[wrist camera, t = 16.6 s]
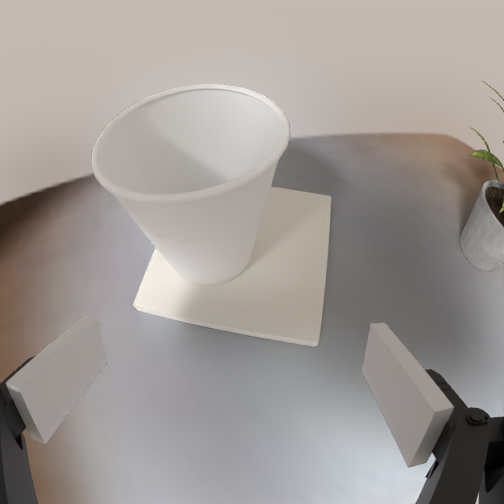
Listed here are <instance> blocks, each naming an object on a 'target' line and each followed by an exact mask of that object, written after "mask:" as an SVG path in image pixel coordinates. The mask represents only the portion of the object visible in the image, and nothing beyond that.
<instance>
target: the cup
mask: <svg viewBox="0 0 504 504" xmlns="http://www.w3.org/2000/svg"><path fill="white" fill-rule="evenodd" d="M289 139H290V125H289V121H288V119H287V117H286V115H285V113H284V112H283V110H282V109H281V108H280V107H279V106H278V105H277V104H276V103H275V102H274V101H272V100H271V99H269V98H268V97H266V96H264V95H262V94H260V93H258V92H256V91H253V90H250V89H246V88H243V87H238V86H233V85H226V84H196V85H188V86H182V87H177V88H173V89H169V90H165V91H162V92H159V93H156V94H154V95H151V96H149V97H146V98H144V99H142V100H140V101H138V102H136V103H134V104H133V105H131V106H130V107H128V108H126V109H125V110H123V111H122V112H121V113H120V114H118V115H117V116H116V117H115V118H114V119H112V120H111V121H110V122H109V124H108V125H107V126H106V127H105V128H104V129H103V130H102V132H101V133H100V135H99V136H98V138H97V140H96V142H95V145H94V147H93V150H92V158H91V165H92V169H93V173H94V176H95V177H96V179H97V180H98V182H99V183H100V184H101V186H102V187H104V188H105V189H107V190H108V191H109V192H111V193H112V194H114V195H115V196H116V198H117V199H118V200H119V202H120V203H121V204H122V206H123V207H124V208H125V210H126V211H127V212H128V213H129V215H130V216H131V217H132V218H133V220H134V221H135V222H136V223H137V225H138V226H139V227H140V228H141V230H142V231H143V232H144V233H145V235H146V236H147V237H148V238H149V240H150V241H151V242H152V243H153V245H154V246H155V247H156V248H157V249H158V251H159V252H160V253H161V254H162V255H163V257H164V258H165V259H166V260H167V262H168V263H169V264H170V265H171V266H172V268H173V269H174V270H175V271H176V272H177V273H178V275H179V276H181V277H182V278H183V279H185V280H187V281H189V282H191V283H194V284H198V285H208V286H210V285H218V284H221V283H224V282H227V281H229V280H231V279H233V278H235V277H236V276H237V275H238V274H240V273H241V272H242V271H243V270H244V268H245V267H246V266H247V264H248V262H249V260H250V258H251V254H252V251H253V247H254V244H255V240H256V237H257V233H258V230H259V226H260V223H261V219H262V216H263V212H264V209H265V205H266V202H267V198H268V195H269V192H270V188H271V185H272V181H273V178H274V174H275V171H276V167H277V164H278V161H279V159H280V158H281V156H282V154H283V153H284V151H285V150H286V148H287V146H288V142H289Z"/></svg>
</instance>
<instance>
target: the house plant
mask: <svg viewBox="0 0 504 504" xmlns="http://www.w3.org/2000/svg"><path fill="white" fill-rule="evenodd" d="M483 82H484V81H483ZM487 85H488V84H487ZM489 87H491V86H489ZM492 89H493V88H492ZM493 90H494V89H493ZM494 91H495V90H494ZM495 92H496V91H495ZM496 93H497V94H498V92H496ZM498 95H499V94H498ZM499 96H500V95H499ZM500 97H501V96H500ZM501 98H502V97H501ZM503 100H504V99H503ZM497 104H498V103H497ZM498 105H499V104H498ZM500 107H501V106H500ZM501 109H502V108H501ZM503 112H504V111H503ZM472 129H473V128H472ZM473 130H474V129H473ZM474 131H475V132H476V133H477V134H478V135H479V136H480V137H481V138H482V140H483V141H484V143H485V145H486V146H487V149H488V151H489V152H488V151H486V150H478V151H475V152H473V153H471V154H470V155H472V156H475V157H478V158H481V159H484V160H487V161H490V162H492V164H493V167H494V170H495V173H496V169H495V166H494V163H495V164H497V165H499V166H501V167H502V169H503V171H504V168H503V165H502V164H501V162H500V161H499V160H498V158H497V157H495V156H494V155H493V154H491V153H490V150H489V147H488V145H487V143H486V141H485V140H484V138H483V137H482V136H481V135H480V134H479V133H478V132H477V131H476V130H474ZM470 155H468V156H470ZM496 177H497V180H498V176H497V173H496ZM497 180H488V181H486V182H485V183H484V184H483V187H482V189H481V192H480V194H479V196H478V199H477V201H476V203H475V205H474V208H473V210H472V212H471V214H470V216H469V218H468V221H467V223H466V225H465V227H464V229H463V231H462V233H461V235H460V245H461V248H462V251H463V253H464V255H465V257H466V258H467V259H468V261H469V262H470V263H471V264H472V265H473V266H474V267H475V268H477V269H479V270H481V271H485V272H489V271H492V270H494V269H495V268H497V267H498V266H500V265H501V264H503V263H504V183H502V182H500V181H497Z"/></svg>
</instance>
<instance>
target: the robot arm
mask: <svg viewBox="0 0 504 504" xmlns="http://www.w3.org/2000/svg"><path fill="white" fill-rule="evenodd" d="M106 364H107V358H106V354H105V349H104V345H103V340H102V335H101V329H100V324H99V318H98V316H96V315H87V314H86V315H84V316H83V317H82V318H81V319H79V320H78V321H77V322H76V323H75V324H73V325H72V326H71V327H70V328H68V329H67V330H66V331H65V332H64V333H62V334H61V335H60V336H59V337H58V338H56V339H55V340H54V341H53V342H52V343H50V344H49V345H48V346H47V347H46V348H45V349H43V350H42V351H41V352H40V353H39V354H38V355H36V356H34V357H32V358H29V359H28V360H27V361H25V362H24V363H23V364H22V366H20V367H18V368H17V369H16V371H14V372H13V373H12V374H11V375H9V376H8V377H7V378H6V379H5V380H4V381H3V382H2V383H0V504H38V501H37V497H36V493H35V489H34V485H33V480H32V476H31V471H30V466H29V460H28V455H27V448H26V442H25V438H24V435H23V433H22V432H23V431H24V429H25V428H26V429H27V430H28V432H29V434H30V436H31V438H32V439H35V440H37V441H39V442H42V443H44V444H46V443H47V441H48V440H49V439H50V437H51V436H52V435H53V433H54V432H55V430H56V429H57V428H58V426H59V425H60V424H61V422H62V421H63V420H64V418H65V417H66V416H67V414H68V413H69V412H70V410H71V409H72V408H73V406H74V405H75V404H76V402H77V401H78V400H79V399H80V397H81V396H82V395H83V393H84V392H85V391H86V389H87V388H88V387H89V386H90V384H91V383H92V382H93V381H94V379H95V378H96V377H97V375H98V374H99V373H100V372H101V370H102V369H103V368H104V367H105V365H106ZM361 372H362V374H363V376H364V378H365V380H366V382H367V384H368V386H369V388H370V390H371V392H372V394H373V396H374V398H375V400H376V402H377V404H378V406H379V408H380V410H381V412H382V414H383V416H384V418H385V420H386V422H387V424H388V426H389V428H390V430H391V433H392V435H393V437H394V439H395V441H396V443H397V445H398V447H399V449H400V451H401V454H402V456H403V458H404V460H405V462H406V464H407V466H408V468H409V467H413V466H417V465H420V464H424V463H426V462H427V460H428V459H429V457H430V455H431V453H433V454H434V456H435V458H436V460H435V462H434V464H433V465H432V467H431V469H430V470H429V472H428V473H427V475H426V477H427V480H426V482H425V484H424V487H423V489H422V491H421V493H420V495H419V498H418V500H417V502H416V504H475V503H476V500H477V496H478V492H479V504H504V417H493V418H490V416H489V415H488V413H486V412H485V411H484V410H481V409H479V408H472V407H471V408H468V407H467V406H466V405H465V403H464V402H463V401H462V400H461V398H460V397H459V396H458V395H457V394H456V392H455V391H454V390H453V389H451V386H450V385H449V384H447V382H446V381H445V379H444V378H443V377H442V376H441V375H440V374H438V373H437V372H435V371H433V370H432V369H429V370H424V369H423V367H422V366H421V365H420V364H419V362H418V361H417V360H416V359H415V358H414V356H413V355H412V354H411V353H410V352H409V350H408V349H407V348H406V347H405V346H404V344H403V343H402V342H401V341H400V340H399V339H398V337H397V336H396V335H395V334H394V333H393V332H392V330H391V329H390V328H389V327H388V326H387V325H386V323H370V329H369V335H368V341H367V346H366V352H365V357H364V362H363V367H362V371H361Z"/></svg>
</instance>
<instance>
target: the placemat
mask: <svg viewBox="0 0 504 504" xmlns="http://www.w3.org/2000/svg"><path fill="white" fill-rule="evenodd" d="M330 214H331V196H327V195H322V194H316V193H310V192H304V191H298V190H291V189H285V188H278V187H271V188H270V192H269V195H268V198H267V202H266V205H265V209H264V212H263V216H262V219H261V223H260V226H259V230H258V233H257V237H256V240H255V244H254V247H253V251H252V254H251V258H250V260H249V262H248V264H247V266H246V267H245V268H244V270H243V271H242V272H241V273H240V274H238V275H237V276H236V277H235V278H233V279H231V280H229V281H227V282H224V283H221V284H218V285H210V286H208V285H198V284H194V283H191V282H189V281H187V280H185V279H183V278H182V277H181V276H179V275H178V273H177V272H176V271H175V270H174V269H173V268H172V266H171V265H170V264H169V263H168V262H167V260H166V259H165V258H164V257H163V255H162V254H161V253H160V252H159V251H158V249H157V248H155V251H154V253H153V255H152V258H151V260H150V263H149V265H148V268H147V270H146V273H145V275H144V278H143V280H142V283H141V285H140V288H139V290H138V293H137V296H136V298H135V301H134V304H133V306H134V307H135V308H136V309H137V310H138V311H142V312H146V313H150V314H153V315H157V316H161V317H165V318H170V319H174V320H178V321H182V322H186V323H191V324H195V325H200V326H204V327H209V328H213V329H218V330H223V331H228V332H233V333H238V334H243V335H248V336H254V337H259V338H265V339H270V340H276V341H282V342H288V343H294V344H301V345H307V346H314V347H316V346H317V345H318V343H319V338H320V330H321V321H322V312H323V303H324V293H325V283H326V272H327V259H328V246H329V231H330Z"/></svg>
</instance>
